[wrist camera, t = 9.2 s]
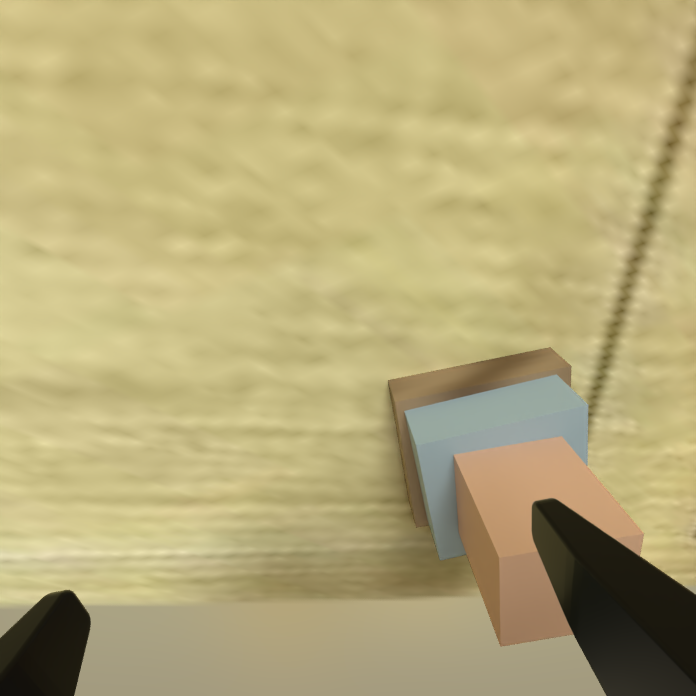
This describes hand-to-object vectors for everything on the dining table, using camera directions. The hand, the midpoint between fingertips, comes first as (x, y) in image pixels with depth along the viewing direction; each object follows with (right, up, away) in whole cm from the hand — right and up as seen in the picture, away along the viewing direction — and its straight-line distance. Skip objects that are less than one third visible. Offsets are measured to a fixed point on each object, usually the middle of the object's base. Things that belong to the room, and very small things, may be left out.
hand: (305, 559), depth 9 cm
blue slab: (+8, -1, +13) cm, 15 cm away
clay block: (+8, -2, +11) cm, 13 cm away
